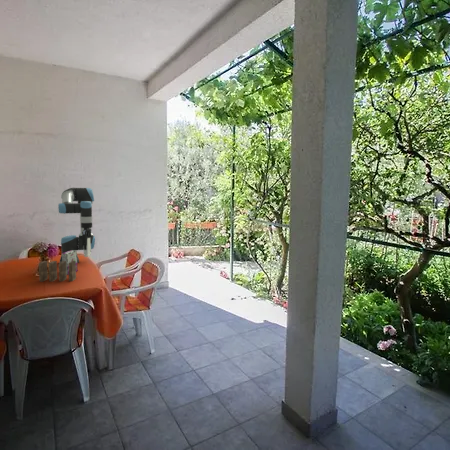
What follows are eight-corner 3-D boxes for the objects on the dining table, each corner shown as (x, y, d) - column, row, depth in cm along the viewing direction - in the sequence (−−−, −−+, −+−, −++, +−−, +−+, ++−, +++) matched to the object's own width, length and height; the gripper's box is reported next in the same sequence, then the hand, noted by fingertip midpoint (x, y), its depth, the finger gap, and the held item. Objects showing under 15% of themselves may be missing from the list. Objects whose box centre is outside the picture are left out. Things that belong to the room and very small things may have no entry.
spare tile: (84, 256, 229) (83, 239, 227) (87, 254, 236) (86, 237, 234) (87, 256, 229) (87, 239, 227) (90, 254, 236) (90, 237, 234)
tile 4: (69, 281, 220) (68, 263, 218) (72, 278, 226) (72, 260, 225) (72, 281, 220) (71, 263, 218) (76, 278, 227) (75, 260, 225)
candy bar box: (72, 270, 247) (71, 250, 245) (77, 271, 246) (77, 250, 244) (62, 274, 236) (61, 253, 234) (68, 274, 235) (67, 253, 233)
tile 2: (49, 281, 218) (48, 263, 217) (53, 278, 225) (53, 260, 223) (53, 281, 218) (52, 263, 217) (57, 278, 225) (56, 260, 224)
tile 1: (39, 281, 217) (38, 263, 216) (44, 278, 224) (43, 261, 223) (43, 281, 218) (42, 263, 216) (47, 278, 225) (46, 261, 223)
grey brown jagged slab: (59, 281, 219) (58, 263, 217) (63, 278, 226) (62, 260, 224) (62, 281, 219) (62, 263, 218) (66, 278, 226) (66, 260, 224)
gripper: (85, 220, 239) (86, 250, 241) (76, 223, 219) (77, 255, 222) (95, 220, 240) (96, 250, 242) (87, 223, 220) (88, 255, 223)
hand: (87, 253), depth 232 cm, fingers closed on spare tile, 7 cm apart
